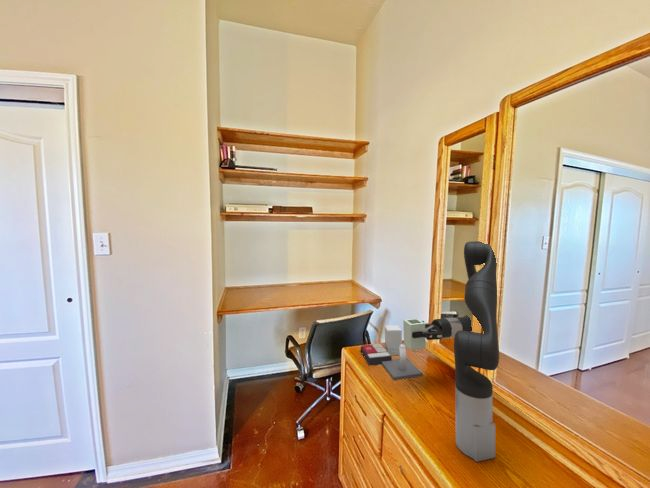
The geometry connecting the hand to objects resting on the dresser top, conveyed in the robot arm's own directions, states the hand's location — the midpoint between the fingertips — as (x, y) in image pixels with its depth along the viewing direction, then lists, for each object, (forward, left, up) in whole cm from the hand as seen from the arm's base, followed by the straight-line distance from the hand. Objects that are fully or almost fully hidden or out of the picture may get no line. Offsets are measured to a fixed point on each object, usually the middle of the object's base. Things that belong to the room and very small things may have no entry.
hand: (408, 332), depth 106 cm
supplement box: (+29, -6, -22) cm, 37 cm away
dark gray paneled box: (+26, +4, -23) cm, 35 cm away
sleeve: (0, -2, -6) cm, 6 cm away
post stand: (+12, -2, -22) cm, 25 cm away
